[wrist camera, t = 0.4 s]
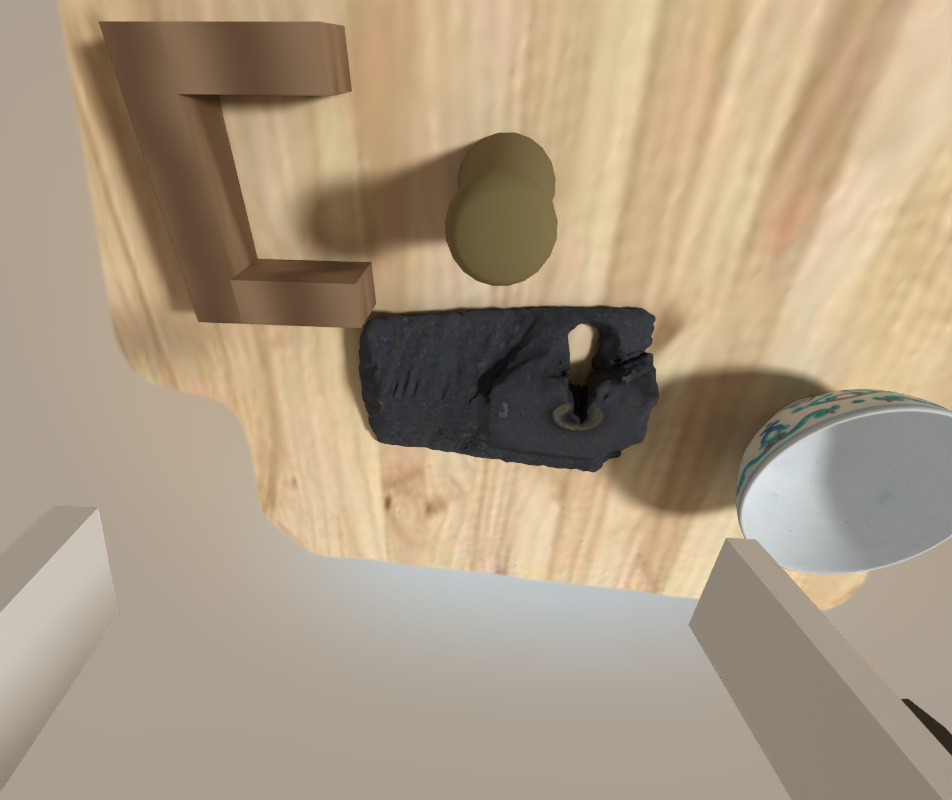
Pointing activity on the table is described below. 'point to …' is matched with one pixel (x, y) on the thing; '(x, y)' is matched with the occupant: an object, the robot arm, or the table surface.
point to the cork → (503, 210)
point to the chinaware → (848, 481)
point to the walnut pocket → (231, 160)
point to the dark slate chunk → (509, 384)
